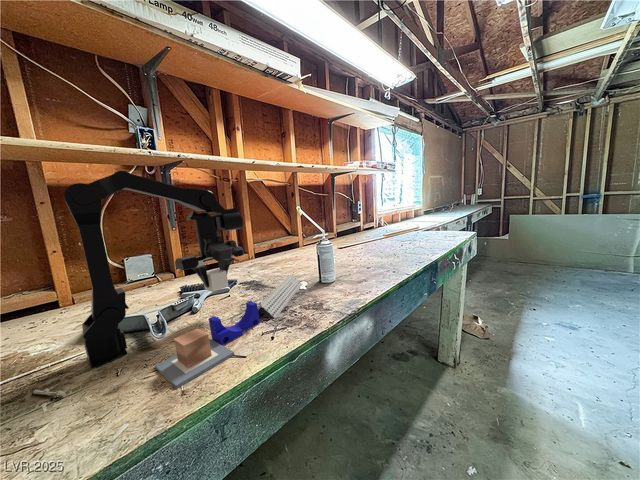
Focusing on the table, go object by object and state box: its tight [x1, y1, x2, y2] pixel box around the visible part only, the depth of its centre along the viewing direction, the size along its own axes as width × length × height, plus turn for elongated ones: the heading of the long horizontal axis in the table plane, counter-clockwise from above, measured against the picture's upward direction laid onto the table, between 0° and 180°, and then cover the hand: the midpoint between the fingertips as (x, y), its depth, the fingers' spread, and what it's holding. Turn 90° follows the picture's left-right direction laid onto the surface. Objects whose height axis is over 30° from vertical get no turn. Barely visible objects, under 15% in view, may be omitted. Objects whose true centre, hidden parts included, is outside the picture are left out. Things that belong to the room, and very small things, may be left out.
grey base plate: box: [154, 338, 235, 389], centre depth 54 cm, size 12×11×1 cm
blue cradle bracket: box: [208, 300, 261, 346], centre depth 65 cm, size 12×4×6 cm, turn 139°
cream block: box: [203, 268, 229, 293], centre depth 76 cm, size 5×5×5 cm
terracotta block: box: [173, 328, 212, 368], centre depth 54 cm, size 5×5×5 cm
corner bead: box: [258, 273, 303, 319], centre depth 85 cm, size 29×9×5 cm, turn 169°
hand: (216, 284), depth 76 cm, fingers closed on cream block, 5 cm apart
